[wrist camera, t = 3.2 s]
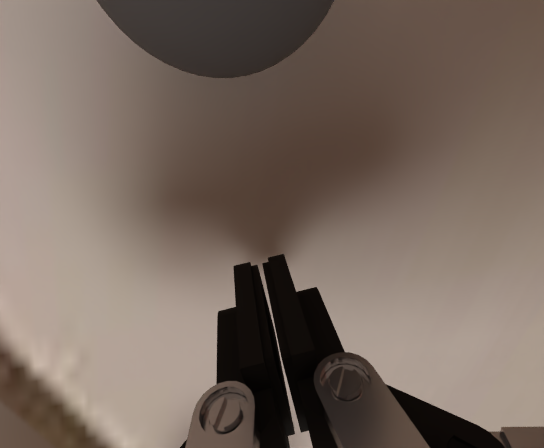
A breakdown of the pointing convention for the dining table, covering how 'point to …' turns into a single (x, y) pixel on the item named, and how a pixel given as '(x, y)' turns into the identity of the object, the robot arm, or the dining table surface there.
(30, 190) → the dining table surface
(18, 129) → the dining table surface
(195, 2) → the gray ball
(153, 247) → the dining table surface
